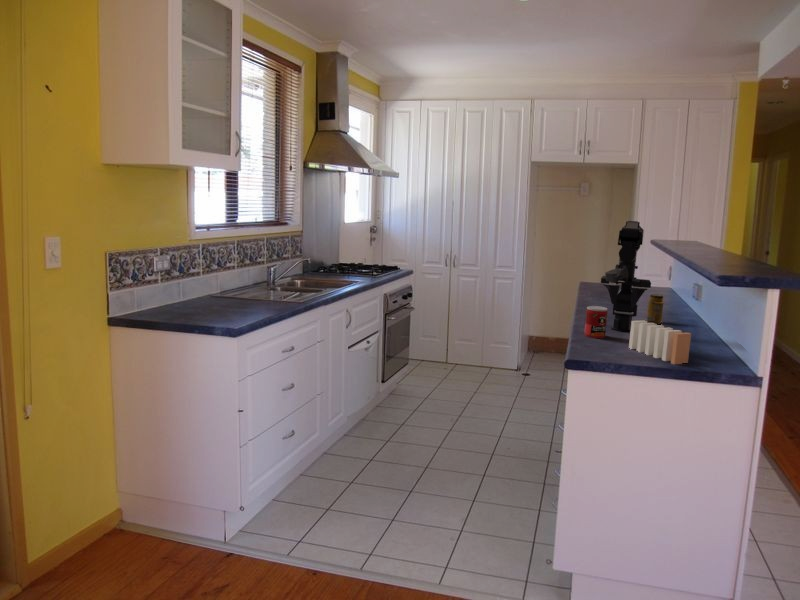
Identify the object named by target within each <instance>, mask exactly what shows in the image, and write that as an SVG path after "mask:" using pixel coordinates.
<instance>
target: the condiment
mask: <svg viewBox="0 0 800 600" xmlns="http://www.w3.org/2000/svg"><path fill="white" fill-rule="evenodd" d="M647 304H648V305H647V310H646V311H647V312H646V313H647V314H646V320H647V322H652V323H661V322H662V319H663V318H662V317H663V308H664V296H663V295H661V294H650V295H649V300H648V301H647ZM661 325H662V326H663V323H662V324H661Z"/></svg>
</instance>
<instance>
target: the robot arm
mask: <svg viewBox="0 0 800 600" xmlns="http://www.w3.org/2000/svg"><path fill="white" fill-rule="evenodd" d="M644 233H645V231H644V229H643V228H642V227H641V225H640V222H639V221H637V220H636V221H635V220H628V221H627V220H626V223H625V225H624V226H622V227H621V228H620V229H619V232H618V240H617V246H621V248H620V249H619V251H618V257H619V259H618V264H616V265H615V268H614V269H611V270H608V271H606V272H605V275H603V276H601V278H600V284H602V286H604V287H605V288H606V289H607V291H608V294H609V298H610V303H611V304H612V315H613V316H614V318H613V326H612V327H611V326H610V329H611V330H613V331H618V332H630V331H631V322H632V321H633V318H634V317H637V314H638V305H637V303H638V302H639V300H640V298H641V297H642V296H643V294H644V293H645V292H646V291H648V290H649V288H651V287H652V282H651V281H650V279H644V278H637V277H635V273H636V270H637V269H638V268H639V266H638V265H637V255H638V251H639V250H640V249H641V246H643V242H644V241H643V239H644ZM619 284H621V285H619ZM620 286H621V287H620Z"/></svg>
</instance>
